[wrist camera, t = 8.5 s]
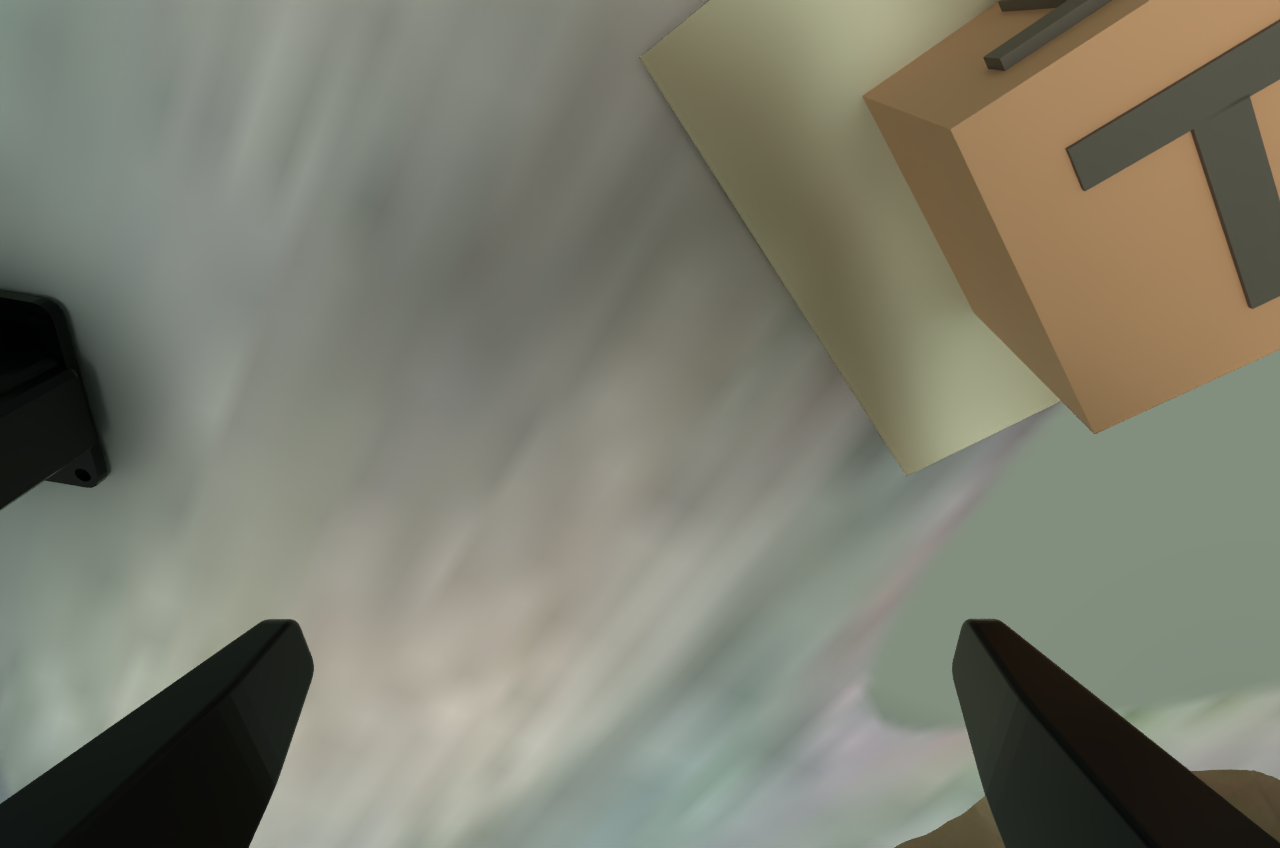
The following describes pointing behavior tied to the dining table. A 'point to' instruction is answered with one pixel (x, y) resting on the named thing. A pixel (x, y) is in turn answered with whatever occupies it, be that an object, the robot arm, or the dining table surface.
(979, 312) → the letter cube
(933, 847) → the food dish
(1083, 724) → the robot arm
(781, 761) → the dining table surface
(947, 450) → the cream flat square slab
